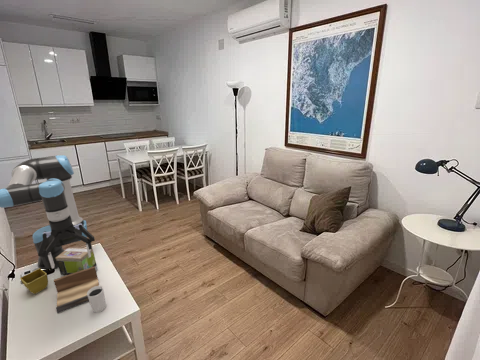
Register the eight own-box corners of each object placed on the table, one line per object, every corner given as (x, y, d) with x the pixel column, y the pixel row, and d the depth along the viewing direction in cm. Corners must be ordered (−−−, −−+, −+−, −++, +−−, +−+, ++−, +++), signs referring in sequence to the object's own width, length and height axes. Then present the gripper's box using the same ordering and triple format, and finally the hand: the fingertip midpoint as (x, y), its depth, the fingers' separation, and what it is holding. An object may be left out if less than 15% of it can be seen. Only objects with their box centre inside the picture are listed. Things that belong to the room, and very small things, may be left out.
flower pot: (32, 298, 124) (26, 284, 121) (24, 291, 129) (19, 277, 126) (51, 287, 131) (47, 273, 128) (44, 281, 136) (39, 267, 133)
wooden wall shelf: (58, 293, 127) (53, 279, 124) (98, 279, 136) (94, 266, 133) (57, 313, 116) (52, 298, 113) (100, 296, 125) (97, 282, 122)
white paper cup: (110, 305, 119) (106, 289, 116) (96, 315, 114) (92, 298, 111) (102, 300, 123) (97, 283, 119) (88, 309, 117) (83, 293, 114)
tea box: (98, 269, 144) (93, 247, 140) (86, 281, 135) (80, 259, 130) (74, 268, 146) (68, 246, 141) (61, 280, 137) (54, 257, 132)
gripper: (19, 230, 93) (35, 276, 100) (94, 213, 105) (104, 255, 112) (22, 222, 99) (37, 266, 106) (93, 207, 111) (103, 247, 118)
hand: (72, 261), depth 109 cm, fingers open, 13 cm apart
